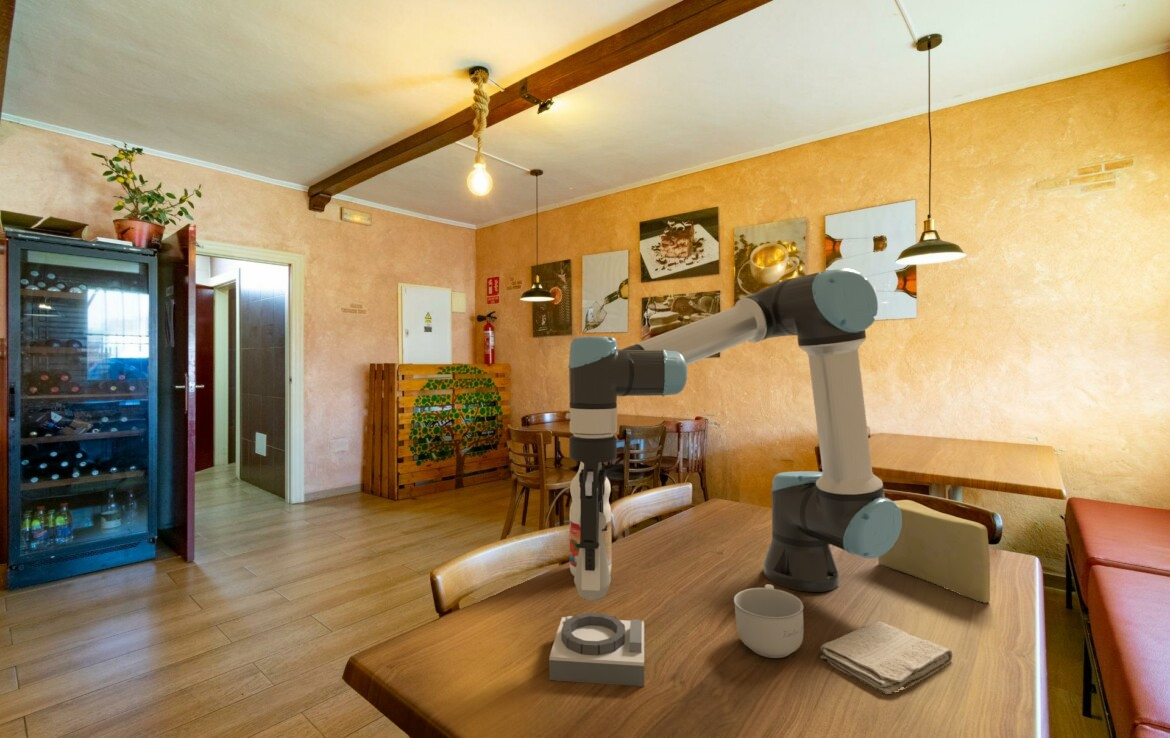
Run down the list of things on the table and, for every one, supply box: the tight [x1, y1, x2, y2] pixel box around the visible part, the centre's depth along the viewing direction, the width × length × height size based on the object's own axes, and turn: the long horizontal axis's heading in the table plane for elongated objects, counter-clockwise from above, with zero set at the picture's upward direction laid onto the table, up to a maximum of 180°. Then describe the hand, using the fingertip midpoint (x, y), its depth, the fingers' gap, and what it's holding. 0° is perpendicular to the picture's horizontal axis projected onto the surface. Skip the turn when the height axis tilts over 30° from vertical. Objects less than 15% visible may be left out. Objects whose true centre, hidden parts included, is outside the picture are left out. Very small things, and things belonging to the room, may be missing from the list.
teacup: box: [733, 584, 804, 659], centre depth 86 cm, size 14×11×8 cm
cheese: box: [877, 499, 991, 604], centre depth 111 cm, size 22×10×15 cm, turn 15°
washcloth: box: [819, 621, 953, 695], centre depth 82 cm, size 12×18×3 cm, turn 122°
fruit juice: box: [569, 462, 612, 577], centre depth 116 cm, size 9×9×28 cm
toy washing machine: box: [548, 612, 645, 687], centre depth 82 cm, size 14×12×5 cm
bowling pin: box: [573, 512, 612, 602], centre depth 82 cm, size 6×6×13 cm
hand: (592, 580), depth 82 cm, fingers closed on bowling pin, 6 cm apart
